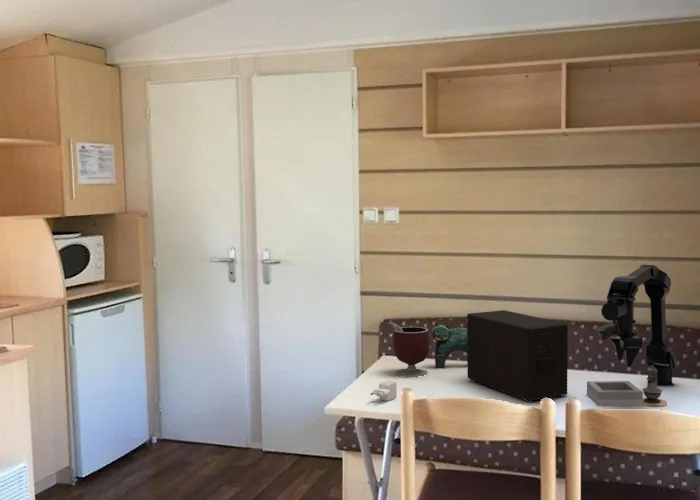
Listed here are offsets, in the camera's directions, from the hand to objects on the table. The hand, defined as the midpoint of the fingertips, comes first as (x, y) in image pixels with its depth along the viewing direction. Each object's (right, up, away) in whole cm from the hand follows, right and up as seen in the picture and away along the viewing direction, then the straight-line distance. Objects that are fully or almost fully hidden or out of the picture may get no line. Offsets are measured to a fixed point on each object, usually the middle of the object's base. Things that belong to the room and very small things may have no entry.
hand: (624, 363), depth 251 cm
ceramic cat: (-48, -10, +53) cm, 72 cm away
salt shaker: (+8, -12, -3) cm, 15 cm away
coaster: (+8, -13, -2) cm, 15 cm away
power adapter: (-79, -14, +5) cm, 80 cm away
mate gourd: (-67, -11, +43) cm, 80 cm away
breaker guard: (-3, -12, +2) cm, 13 cm away
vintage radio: (-30, -12, +18) cm, 37 cm away
